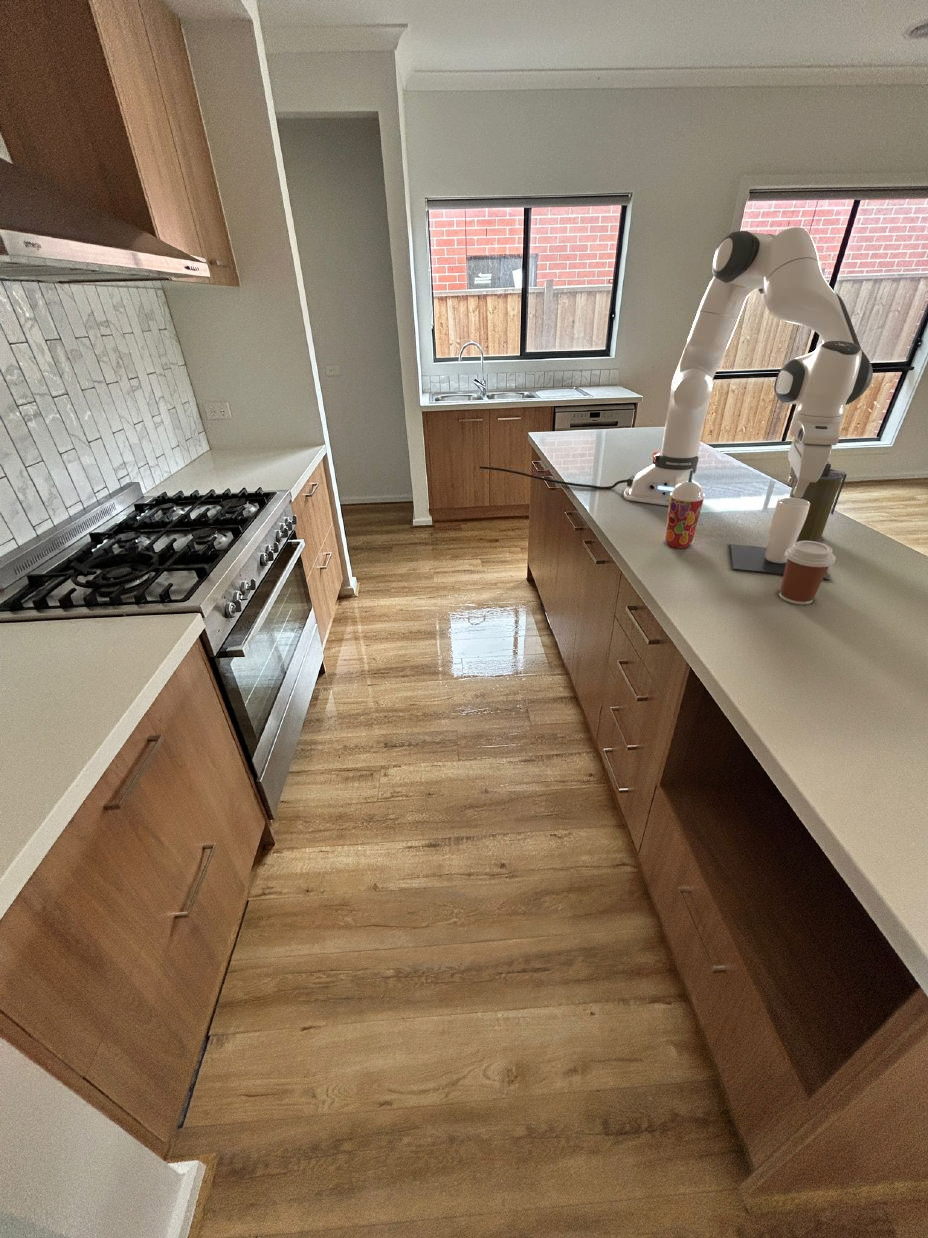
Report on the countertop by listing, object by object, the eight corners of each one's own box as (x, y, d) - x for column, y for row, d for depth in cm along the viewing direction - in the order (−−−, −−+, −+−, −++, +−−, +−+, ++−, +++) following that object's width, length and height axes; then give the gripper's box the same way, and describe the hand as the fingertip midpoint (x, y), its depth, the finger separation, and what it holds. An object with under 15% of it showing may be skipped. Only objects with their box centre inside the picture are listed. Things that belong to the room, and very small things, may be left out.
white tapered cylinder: (755, 555, 130) (771, 497, 122) (780, 553, 130) (798, 495, 122) (771, 566, 124) (789, 507, 116) (797, 564, 125) (817, 505, 117)
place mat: (733, 569, 125) (733, 568, 124) (729, 545, 136) (730, 544, 136) (828, 580, 118) (828, 578, 118) (816, 553, 130) (816, 552, 130)
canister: (780, 541, 137) (803, 466, 127) (775, 527, 145) (796, 455, 135) (827, 545, 134) (854, 468, 123) (819, 530, 142) (844, 457, 131)
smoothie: (693, 539, 141) (708, 466, 130) (694, 551, 134) (710, 476, 124) (661, 536, 143) (674, 465, 133) (661, 548, 137) (674, 474, 126)
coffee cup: (764, 587, 117) (779, 538, 110) (805, 586, 116) (823, 537, 110) (784, 608, 109) (801, 556, 103) (828, 607, 108) (848, 555, 102)
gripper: (792, 417, 119) (774, 475, 127) (805, 436, 103) (784, 502, 111) (823, 418, 117) (803, 477, 125) (841, 438, 101) (817, 505, 109)
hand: (794, 489), depth 118 cm, fingers open, 8 cm apart
